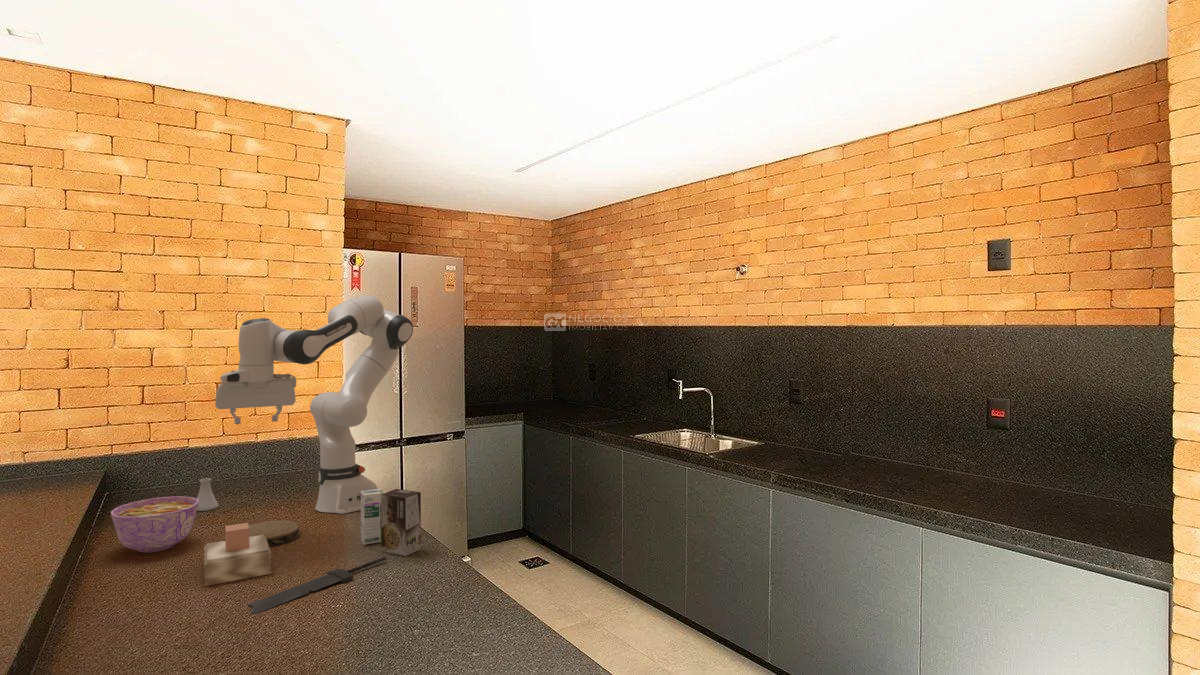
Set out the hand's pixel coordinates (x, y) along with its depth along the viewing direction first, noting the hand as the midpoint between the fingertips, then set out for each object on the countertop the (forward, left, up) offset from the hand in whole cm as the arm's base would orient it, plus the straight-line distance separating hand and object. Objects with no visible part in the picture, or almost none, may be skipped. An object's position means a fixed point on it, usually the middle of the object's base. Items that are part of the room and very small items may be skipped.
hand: (256, 422), depth 178 cm
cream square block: (+6, +22, -34) cm, 41 cm away
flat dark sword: (-11, +42, -35) cm, 56 cm away
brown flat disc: (-3, 0, -35) cm, 35 cm away
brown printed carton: (-33, +30, -34) cm, 56 cm away
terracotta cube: (+6, +22, -28) cm, 36 cm away
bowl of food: (+24, -8, -34) cm, 43 cm away
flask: (+12, -43, -34) cm, 56 cm away
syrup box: (-28, +18, -34) cm, 48 cm away
